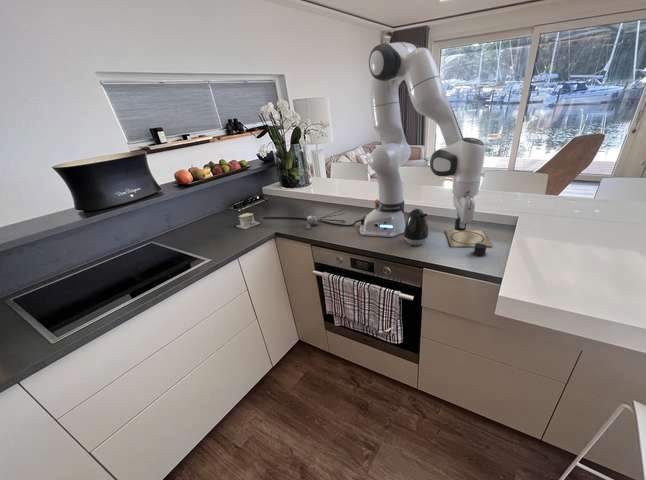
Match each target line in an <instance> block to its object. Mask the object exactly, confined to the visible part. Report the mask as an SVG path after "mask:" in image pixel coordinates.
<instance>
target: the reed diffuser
mask: <svg viewBox="0 0 646 480" xmlns="http://www.w3.org/2000/svg"><path fill="white" fill-rule="evenodd" d="M342 211H343V209H341V210H338V211H335V212H333V213H331V214H327V215H324V216H322V217H321V216H320V217H317V216H316V215H309V216H306V218H307V220H306V221H307V225H306V229H307V230H310V229H311V228H312V226H316V225H317V224H318V222H319V221H321V220H322V221H327V219H326V218H331V217H336V216H341V215H345V212H344V213H339V212H342ZM336 213H339V214H336ZM345 221H346V220H343V219H328V222H341V223H345Z"/></svg>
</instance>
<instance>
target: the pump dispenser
mask: <svg viewBox="0 0 646 480" xmlns="http://www.w3.org/2000/svg"><path fill="white" fill-rule="evenodd" d="M427 216H428V213H425V212H424V211H423V210H422V209H420V208H413V209H412V210H411V211H410V212H409V214H408V216H407V218H406V221H405V229H404V232H403V237H404V239H405V241H406V242H407V243H408V244H409V245H412V246H421V245H423V244H424V243H425V242H426V241H427V240H428V237H429V226H428V225H429V224H428V221H427V218H426V217H427Z"/></svg>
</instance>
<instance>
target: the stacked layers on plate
mask: <svg viewBox="0 0 646 480" xmlns="http://www.w3.org/2000/svg"><path fill="white" fill-rule="evenodd" d="M237 217H239V218H238V220H239V224H238V225H236V227H237V228H240V229H243V230H247V229H250V228H252V227H255V226H257V225H260V224H261V222H259V221H256V219H255V216H254V213H251V212H246V213H243V214H240V215H238V216H237Z"/></svg>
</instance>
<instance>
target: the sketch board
mask: <svg viewBox="0 0 646 480" xmlns="http://www.w3.org/2000/svg"><path fill="white" fill-rule="evenodd" d="M445 234H446V238H447V240H448V243H449V246H450V248H475V245H476V244H484V245H486V248H492V244H491V242H490V240H489V239H488V238H487V235H486V234H485V232H484V231H483V230H480V229H479V230H478V229H476V230H475V229H474V230H473V229H472V230H469V229H467V230H464V231H457V230H455V229H454V230H445Z"/></svg>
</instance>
